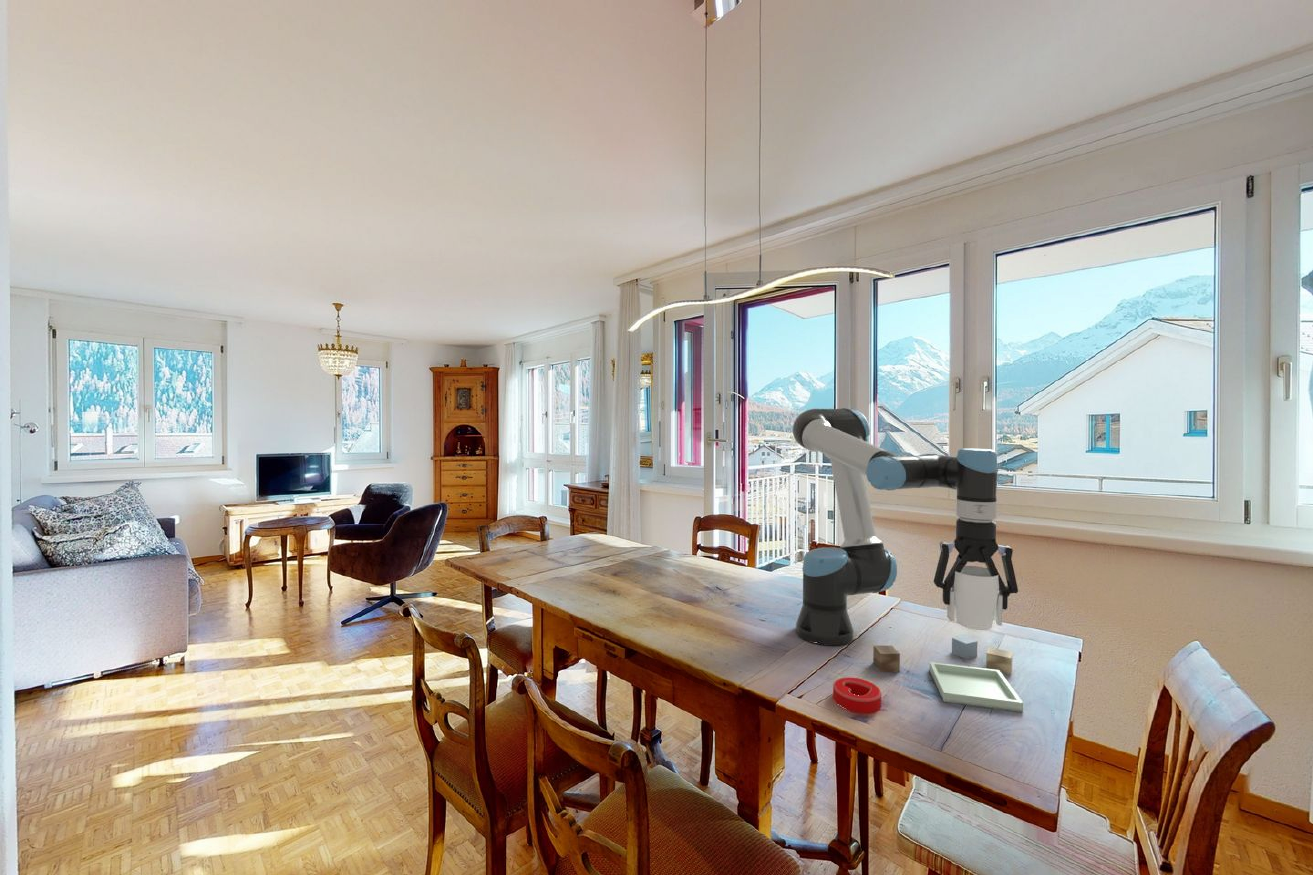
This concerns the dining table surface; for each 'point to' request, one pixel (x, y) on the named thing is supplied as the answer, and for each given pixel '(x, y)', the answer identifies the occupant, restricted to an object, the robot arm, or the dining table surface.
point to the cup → (975, 597)
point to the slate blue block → (964, 647)
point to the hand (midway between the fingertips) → (973, 620)
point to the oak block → (999, 660)
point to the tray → (975, 687)
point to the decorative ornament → (860, 704)
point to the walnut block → (886, 658)
